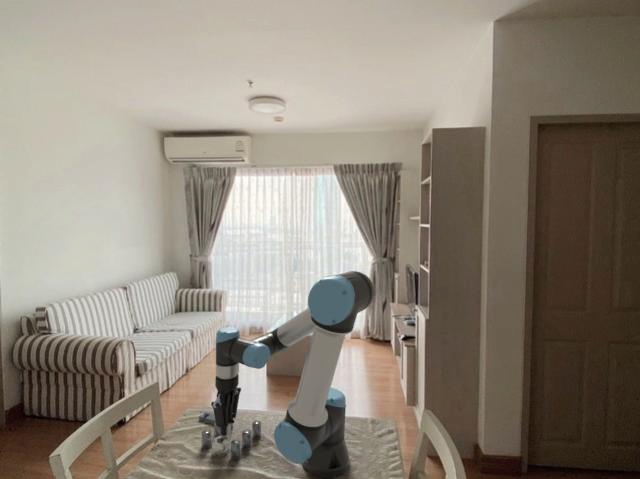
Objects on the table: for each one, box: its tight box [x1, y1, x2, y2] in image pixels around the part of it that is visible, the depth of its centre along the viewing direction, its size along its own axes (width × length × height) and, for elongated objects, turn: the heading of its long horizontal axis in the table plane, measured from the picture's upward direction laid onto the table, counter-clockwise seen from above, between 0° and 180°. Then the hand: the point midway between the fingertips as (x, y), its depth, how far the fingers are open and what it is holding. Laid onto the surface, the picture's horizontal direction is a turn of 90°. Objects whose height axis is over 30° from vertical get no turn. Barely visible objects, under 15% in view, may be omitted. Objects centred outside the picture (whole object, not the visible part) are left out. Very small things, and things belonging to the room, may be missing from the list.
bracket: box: [198, 411, 216, 425], centre depth 133 cm, size 4×10×2 cm, turn 70°
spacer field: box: [201, 420, 262, 461], centre depth 121 cm, size 15×15×5 cm
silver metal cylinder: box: [211, 436, 229, 458], centre depth 116 cm, size 5×5×4 cm
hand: (226, 442), depth 119 cm, fingers closed
